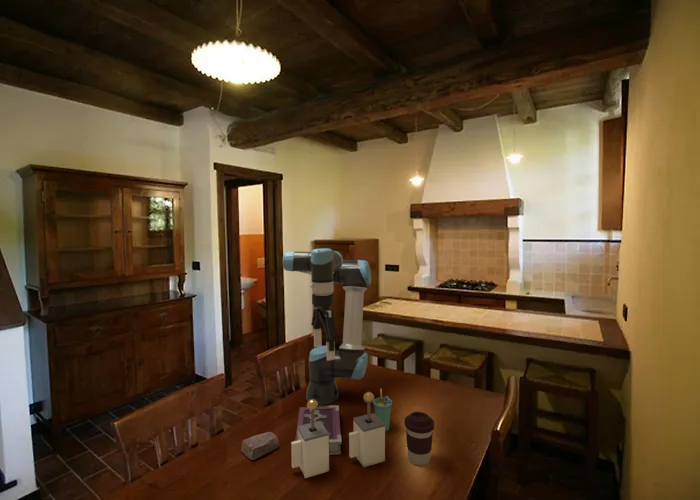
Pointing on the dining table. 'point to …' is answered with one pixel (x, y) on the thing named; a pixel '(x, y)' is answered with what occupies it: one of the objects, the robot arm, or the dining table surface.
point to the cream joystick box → (311, 450)
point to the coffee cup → (419, 437)
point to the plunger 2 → (368, 403)
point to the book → (330, 422)
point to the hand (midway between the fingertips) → (324, 352)
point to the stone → (259, 445)
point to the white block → (367, 440)
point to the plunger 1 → (312, 411)
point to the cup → (383, 409)
